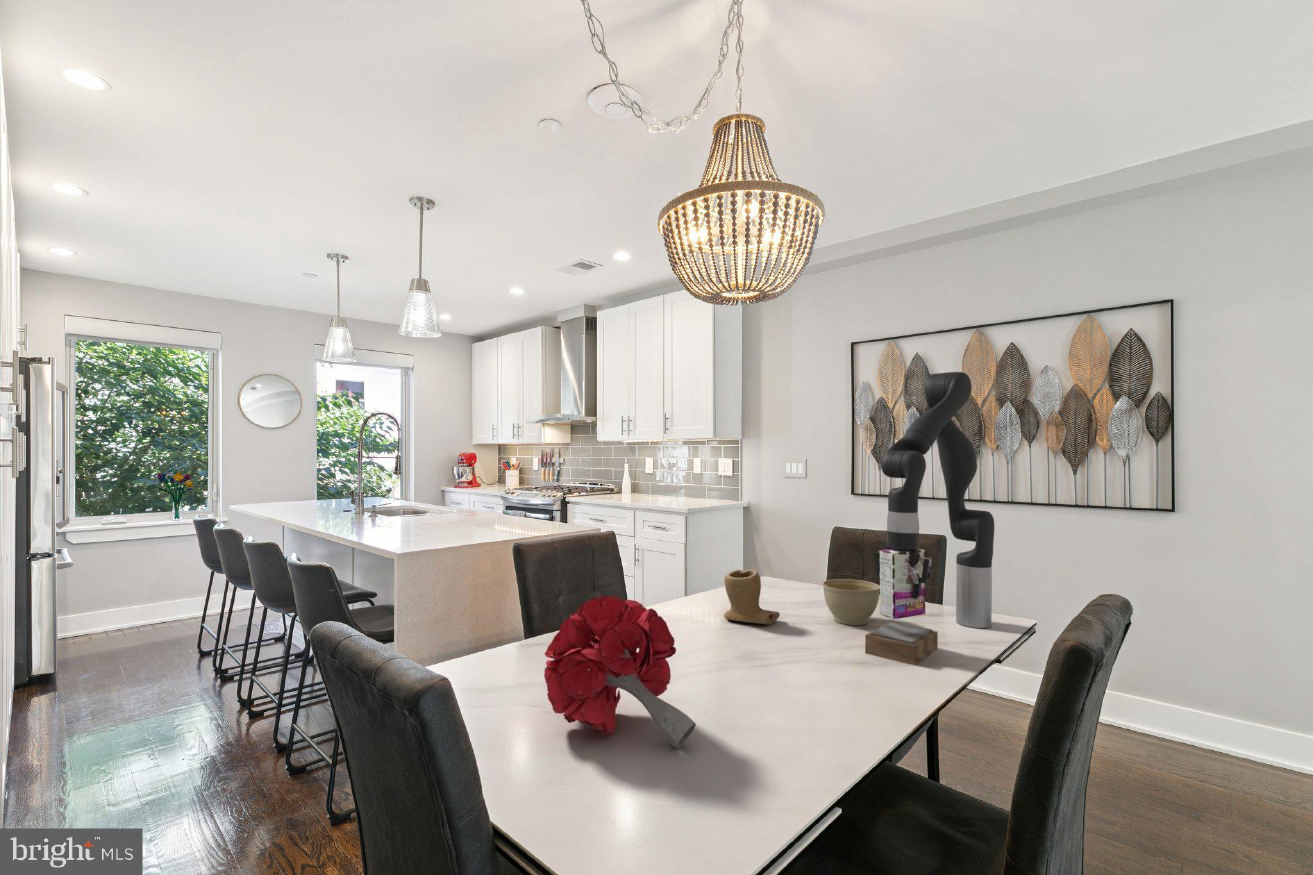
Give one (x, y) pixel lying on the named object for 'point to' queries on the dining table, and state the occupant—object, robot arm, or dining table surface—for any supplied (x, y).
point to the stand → (901, 642)
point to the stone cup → (746, 598)
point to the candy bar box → (899, 585)
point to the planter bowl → (851, 600)
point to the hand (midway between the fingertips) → (902, 595)
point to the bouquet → (613, 666)
